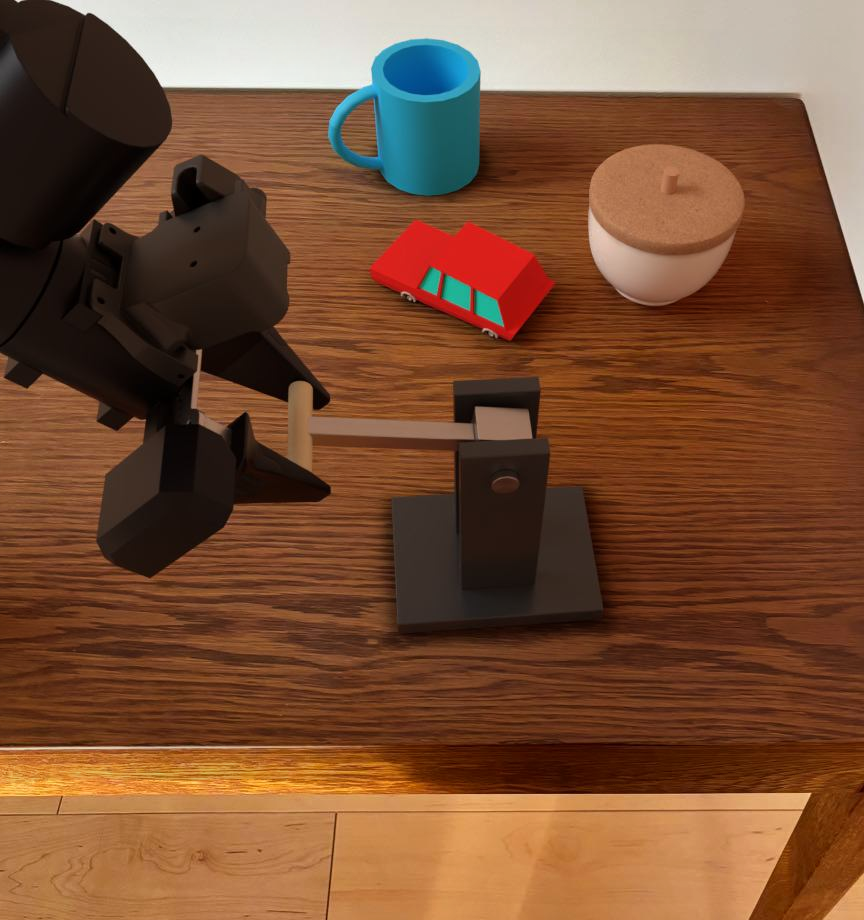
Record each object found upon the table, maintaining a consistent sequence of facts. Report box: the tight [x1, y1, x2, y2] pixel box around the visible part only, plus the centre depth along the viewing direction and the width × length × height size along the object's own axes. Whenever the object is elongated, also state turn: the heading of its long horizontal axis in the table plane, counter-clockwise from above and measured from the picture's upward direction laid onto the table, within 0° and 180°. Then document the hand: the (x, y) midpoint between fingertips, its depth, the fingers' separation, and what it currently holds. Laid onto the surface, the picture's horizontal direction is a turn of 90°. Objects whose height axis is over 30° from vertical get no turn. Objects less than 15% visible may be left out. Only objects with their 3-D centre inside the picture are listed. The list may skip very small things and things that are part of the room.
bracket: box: [390, 376, 604, 635], centre depth 56 cm, size 12×9×14 cm
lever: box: [286, 381, 532, 474], centre depth 51 cm, size 12×6×2 cm, turn 96°
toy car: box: [369, 219, 556, 342], centre depth 73 cm, size 6×12×4 cm, turn 61°
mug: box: [327, 37, 481, 197], centre depth 79 cm, size 12×8×8 cm
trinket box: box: [587, 143, 746, 307], centre depth 72 cm, size 11×11×9 cm
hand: (325, 448), depth 51 cm, fingers closed on lever, 5 cm apart
